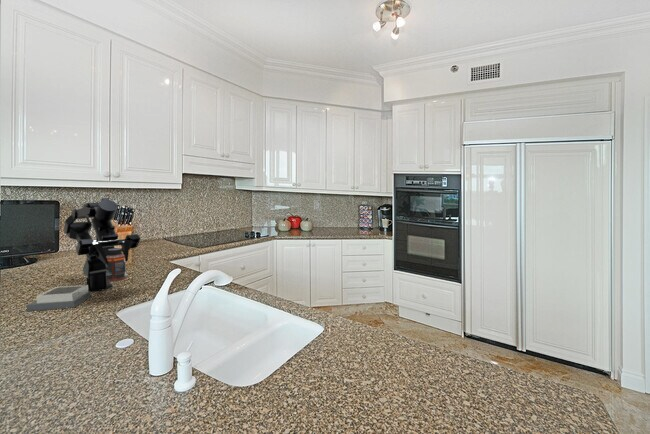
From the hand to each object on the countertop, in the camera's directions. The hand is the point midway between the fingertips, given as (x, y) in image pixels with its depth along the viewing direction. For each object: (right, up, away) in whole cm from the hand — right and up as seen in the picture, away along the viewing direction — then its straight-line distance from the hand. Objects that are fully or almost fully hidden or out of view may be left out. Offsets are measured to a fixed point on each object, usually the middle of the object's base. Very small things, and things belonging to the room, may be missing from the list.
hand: (117, 262), depth 108 cm
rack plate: (-17, -14, -3) cm, 22 cm away
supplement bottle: (-1, -7, +2) cm, 7 cm away
